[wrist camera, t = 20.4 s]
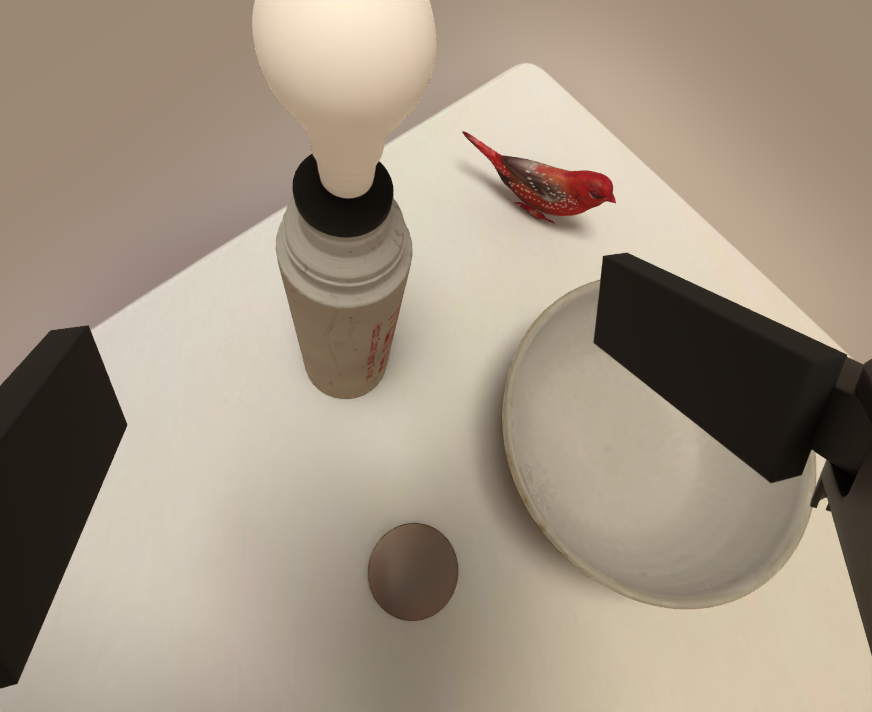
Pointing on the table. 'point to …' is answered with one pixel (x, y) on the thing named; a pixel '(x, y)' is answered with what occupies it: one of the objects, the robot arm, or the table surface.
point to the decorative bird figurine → (549, 184)
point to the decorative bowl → (637, 475)
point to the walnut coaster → (413, 571)
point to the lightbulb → (346, 75)
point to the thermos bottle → (343, 278)
